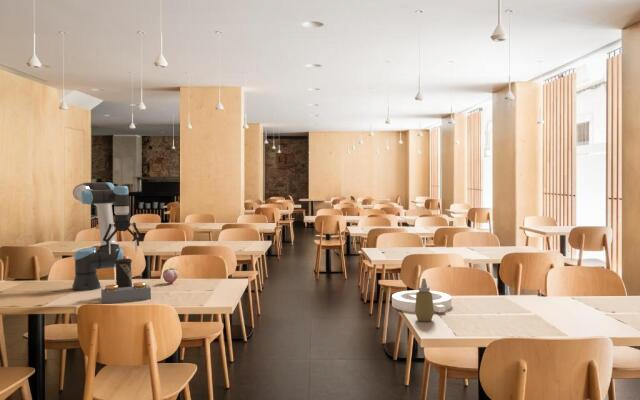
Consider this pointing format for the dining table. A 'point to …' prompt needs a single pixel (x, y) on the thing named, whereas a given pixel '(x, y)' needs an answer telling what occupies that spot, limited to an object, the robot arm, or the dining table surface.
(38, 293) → the dining table surface
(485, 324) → the dining table surface
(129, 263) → the container
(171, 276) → the decorative fruit
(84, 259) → the robot arm
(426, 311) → the squeeze bottle
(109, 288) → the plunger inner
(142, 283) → the gold lidded jar
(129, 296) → the grey block stand
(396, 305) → the ring with crossbar
